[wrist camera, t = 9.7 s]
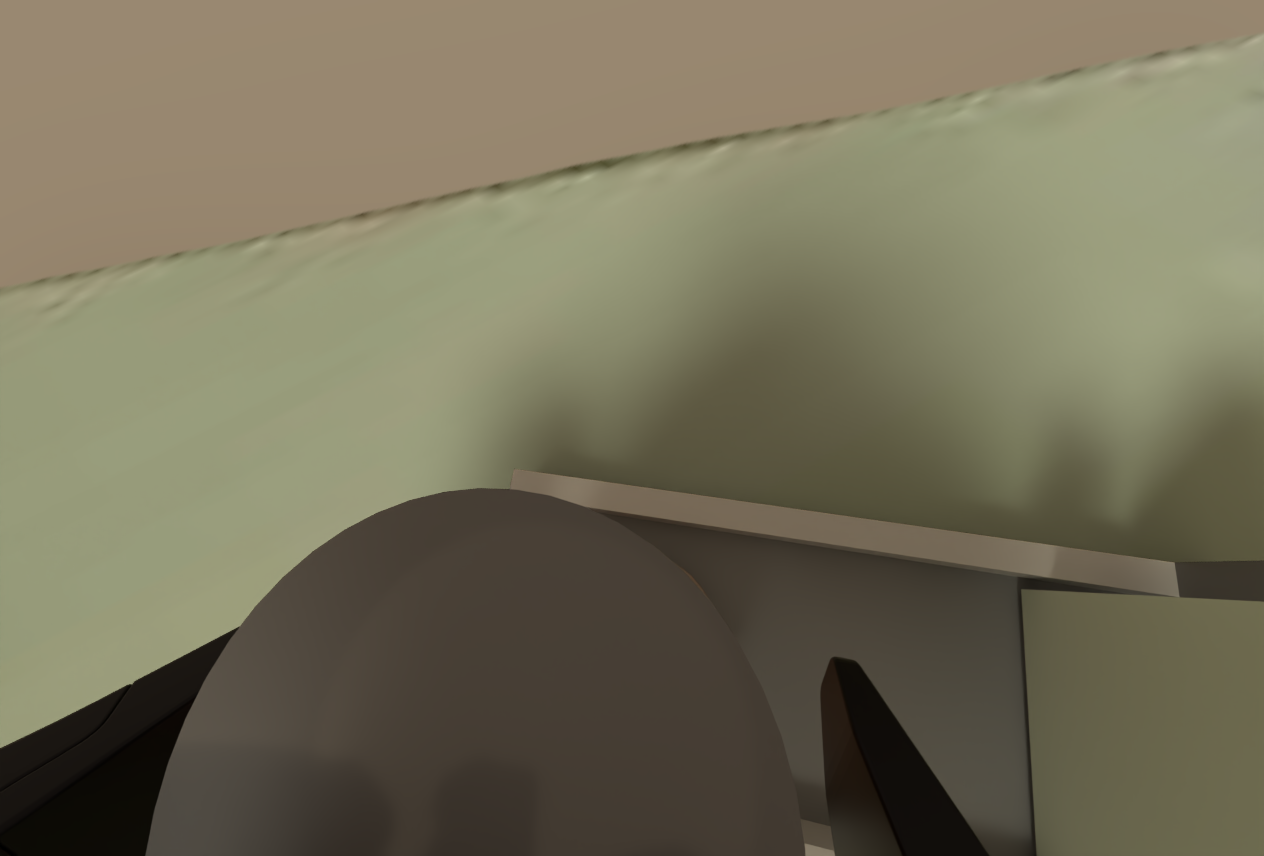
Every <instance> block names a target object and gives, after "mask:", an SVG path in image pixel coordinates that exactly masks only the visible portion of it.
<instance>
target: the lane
mask: <svg viewBox="0 0 1264 856" xmlns="http://www.w3.org/2000/svg"><path fill="white" fill-rule="evenodd" d="M510 489H515V490H521V491H527V492H533V493H538V494H544V495H550V496H553V497H556V498H559V499H562V500H565V501H569V502H572V503H575V504H578V505H581V506H584V507H586V508H588V509H591V510H593V511H595V512H597V513H599V514H601V515H603V516H605V517H607V518H609V519H611V520H614V521H616V522H618V523H619V524H621V525H623V526H624V527H626V528H627V529H629V530H630V531H632V532H633V533H635V534H636V535H638V536H639V537H641V538H642V539H644V540H645V541H647V542H648V543H650V544H651V545H653V546H655V547H656V548H658V549H659V550H660V551H661V552H662V553H664V554H665V555H666V556H667V557H668V558H669V559H671V560H672V561H673V562H675V563H676V564H678V565H679V566H681V567H682V568H684V569H685V570H686V571H687V572H688V573H689V574H690V575H692V576H693V577H694V579H695V580H696V581H697V582H698V583H699V584H700V585H701V587H702V588H703V590H704V591H705V592H706V594H707V595H708V597H709V599H710V601H711V602H712V603H713V605H714V606H715V608H716V609H717V611H718V612H719V613H720V615H721V616H722V618H723V619H724V621H725V622H726V624H727V625H728V626H729V628H730V629H731V631H732V632H733V634H734V636H735V637H736V639H737V641H738V642H739V644H740V646H741V648H742V650H743V652H744V654H745V655H746V657H747V659H748V661H749V663H750V665H751V667H752V669H753V670H754V672H755V674H756V676H757V678H758V680H759V682H760V684H761V686H762V688H763V690H764V693H765V695H766V698H767V700H768V703H769V705H770V708H771V710H772V713H773V716H774V718H775V721H776V723H777V726H778V728H779V731H780V733H781V736H782V739H783V743H784V747H785V751H786V754H787V758H788V762H789V765H790V769H791V773H792V777H793V780H794V784H795V788H796V792H797V799H798V805H799V812H800V818H801V825H802V831H803V838H804V844H805V856H835V853H834V846H833V840H832V833H831V827H830V821H829V814H828V807H827V800H826V791H825V777H824V759H823V740H822V721H821V703H820V690H821V684H822V681H823V678H824V675H825V672H826V669H827V666H828V664H829V661H830V659H831V658H832V657H834V656H837V657H842V658H848V659H853V660H855V661H857V662H858V663H859V664H860V666H861V667H862V668H863V670H864V671H865V673H866V674H867V676H868V677H869V679H870V680H871V682H872V683H873V684H874V686H875V687H876V689H877V690H878V692H879V693H880V695H881V696H882V698H883V699H884V701H885V702H886V704H887V705H888V707H889V708H890V709H891V711H892V712H893V714H894V715H895V717H896V718H897V720H898V721H899V723H900V724H901V726H902V727H903V729H904V730H905V731H906V733H907V734H908V736H909V737H910V739H911V740H912V742H913V743H914V745H915V746H916V748H917V749H918V751H919V752H920V753H921V755H922V756H923V758H924V759H925V761H926V762H927V764H928V765H929V767H930V768H931V770H932V771H933V773H934V774H935V775H936V777H937V778H938V780H939V781H940V783H941V784H942V786H943V787H944V789H945V790H946V792H947V793H948V795H949V796H950V797H951V799H952V800H953V802H954V803H955V805H956V806H957V808H958V809H959V811H960V812H961V814H962V815H963V817H964V818H965V819H966V821H967V822H968V824H969V825H970V827H971V828H972V830H973V831H974V833H975V834H976V836H977V837H978V839H979V840H980V841H981V843H982V844H983V846H984V847H985V849H986V850H987V852H988V853H989V855H990V856H1037V854H1036V836H1035V819H1034V802H1033V785H1032V767H1031V750H1030V733H1029V716H1028V698H1027V681H1026V664H1025V647H1024V629H1023V612H1022V595H1021V589H1028V590H1047V591H1066V592H1086V593H1105V594H1124V595H1144V596H1163V597H1182V598H1202V599H1221V600H1240V601H1260V602H1264V561H1223V562H1168V561H1161V560H1153V559H1146V558H1139V557H1132V556H1125V555H1118V554H1111V553H1104V552H1097V551H1090V550H1083V549H1076V548H1069V547H1062V546H1055V545H1048V544H1041V543H1034V542H1027V541H1020V540H1013V539H1005V538H998V537H991V536H984V535H977V534H970V533H963V532H956V531H949V530H942V529H935V528H928V527H921V526H914V525H907V524H900V523H893V522H886V521H879V520H872V519H865V518H857V517H850V516H843V515H836V514H829V513H822V512H815V511H808V510H801V509H794V508H787V507H780V506H773V505H766V504H759V503H752V502H745V501H738V500H731V499H724V498H716V497H709V496H702V495H695V494H688V493H681V492H674V491H667V490H660V489H653V488H646V487H639V486H632V485H625V484H618V483H611V482H604V481H597V480H590V479H583V478H576V477H568V476H561V475H554V474H547V473H540V472H533V471H526V470H519V469H514V472H513V476H512V481H511V485H510Z"/></svg>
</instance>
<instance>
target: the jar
mask: <svg viewBox="0 0 1264 856" xmlns="http://www.w3.org/2000/svg"><path fill="white" fill-rule="evenodd" d="M145 856H805V844H804V838H803V831H802V825H801V818H800V812H799V805H798V799H797V792H796V788H795V784H794V780H793V777H792V773H791V769H790V765H789V762H788V758H787V754H786V751H785V747H784V743H783V739H782V736H781V733H780V731H779V728H778V726H777V723H776V721H775V718H774V716H773V713H772V710H771V708H770V705H769V703H768V700H767V698H766V695H765V693H764V690H763V688H762V686H761V684H760V682H759V680H758V678H757V676H756V674H755V672H754V670H753V669H752V667H751V665H750V663H749V661H748V659H747V657H746V655H745V654H744V652H743V650H742V648H741V646H740V644H739V642H738V641H737V639H736V637H735V636H734V634H733V632H732V631H731V629H730V628H729V626H728V625H727V624H726V622H725V621H724V619H723V618H722V616H721V615H720V613H719V612H718V611H717V609H716V608H715V606H714V605H713V603H712V602H711V601H710V599H709V597H708V595H707V594H706V592H705V591H704V590H703V588H702V587H701V585H700V584H699V583H698V582H697V581H696V580H695V579H694V577H693V576H692V575H690V574H689V573H688V572H687V571H686V570H685V569H684V568H682V567H681V566H679V565H678V564H676V563H675V562H673V561H672V560H671V559H669V558H668V557H667V556H666V555H665V554H664V553H662V552H661V551H660V550H659V549H658V548H656V547H655V546H653V545H651V544H650V543H648V542H647V541H645V540H644V539H642V538H641V537H639V536H638V535H636V534H635V533H633V532H632V531H630V530H629V529H627V528H626V527H624V526H623V525H621V524H619V523H618V522H616V521H614V520H611V519H609V518H607V517H605V516H603V515H601V514H599V513H597V512H595V511H593V510H591V509H588V508H586V507H584V506H581V505H578V504H575V503H572V502H569V501H565V500H562V499H559V498H556V497H553V496H550V495H544V494H538V493H533V492H527V491H521V490H515V489H486V488H477V489H468V490H458V491H449V492H442V493H438V494H434V495H430V496H426V497H421V498H417V499H413V500H409V501H407V502H404V503H402V504H399V505H396V506H394V507H391V508H388V509H386V510H383V511H381V512H378V513H376V514H374V515H372V516H370V517H368V518H366V519H364V520H362V521H360V522H359V523H357V524H355V525H353V526H351V527H349V528H347V529H345V530H344V531H342V532H341V533H339V534H338V535H336V536H335V537H333V538H332V539H330V540H329V541H328V542H326V543H325V544H323V545H322V546H320V547H319V548H317V549H316V550H314V551H313V552H312V553H311V554H309V555H308V556H307V557H306V558H305V559H304V560H302V561H301V562H300V563H299V564H298V565H297V566H296V567H294V568H293V569H292V570H291V571H290V572H289V573H287V574H286V575H285V576H284V577H283V578H282V579H281V580H280V581H279V582H278V583H277V584H276V585H275V586H274V587H273V588H272V590H271V591H270V592H269V593H268V594H267V595H266V596H265V597H264V598H263V599H262V600H261V601H260V602H259V603H258V604H257V605H256V606H255V608H254V609H253V610H252V612H251V613H250V614H249V616H248V617H247V618H246V619H245V621H244V622H243V623H242V625H241V626H240V627H239V629H238V630H237V631H236V632H235V634H234V635H233V636H232V638H231V639H230V640H229V642H228V643H227V645H226V647H225V648H224V650H223V651H222V653H221V655H220V656H219V658H218V659H217V661H216V663H215V664H214V666H213V667H212V669H211V671H210V672H209V674H208V675H207V677H206V679H205V681H204V683H203V685H202V687H201V689H200V691H199V693H198V695H197V697H196V699H195V701H194V703H193V705H192V707H191V709H190V711H189V713H188V715H187V717H186V719H185V721H184V724H183V726H182V729H181V731H180V734H179V737H178V739H177V742H176V744H175V747H174V749H173V752H172V754H171V757H170V760H169V762H168V765H167V769H166V772H165V775H164V779H163V782H162V786H161V789H160V793H159V796H158V799H157V803H156V806H155V810H154V814H153V819H152V825H151V830H150V835H149V840H148V845H147V850H146V855H145Z"/></svg>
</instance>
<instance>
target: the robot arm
mask: <svg viewBox="0 0 1264 856" xmlns="http://www.w3.org/2000/svg"><path fill="white" fill-rule="evenodd" d="M238 629H239V627H238V628H236V629H234V630H232V631H230V632H228V633H226V634H224V635H222V636H220V637H218V638H217V639H215V640H213V641H211V642H209V643H207V644H205V645H203V646H201V647H199V648H197V649H196V650H194V651H192V652H190V653H188V654H186V655H184V656H182V657H180V658H178V659H176V660H174V661H173V662H171V663H169V664H167V665H165V666H163V667H161V668H159V669H157V670H155V671H153V672H151V673H150V674H148V675H146V676H144V677H142V678H140V679H138V680H136V681H135V682H134V683H133V684H129V685H126V686H124V687H123V688H121V689H119V690H117V691H115V692H113V693H111V694H109V695H107V696H105V697H103V698H102V699H100V700H98V701H96V702H94V703H92V704H90V705H88V706H86V707H84V708H82V709H80V710H78V711H76V712H74V713H72V714H70V715H68V716H66V717H64V718H62V719H60V720H58V721H56V722H54V723H52V724H50V725H48V726H46V727H44V728H42V729H40V730H37V731H35V732H33V733H31V734H29V735H27V736H25V737H23V738H21V739H19V740H17V741H15V742H13V743H10V744H8V745H6V746H4V747H2V748H0V856H145V855H146V850H147V845H148V840H149V835H150V830H151V825H152V819H153V814H154V810H155V806H156V803H157V799H158V796H159V793H160V789H161V786H162V782H163V779H164V775H165V772H166V769H167V765H168V762H169V760H170V757H171V754H172V752H173V749H174V747H175V744H176V742H177V739H178V737H179V734H180V731H181V729H182V726H183V724H184V721H185V719H186V717H187V715H188V713H189V711H190V709H191V707H192V705H193V703H194V701H195V699H196V697H197V695H198V693H199V691H200V689H201V687H202V685H203V683H204V681H205V679H206V677H207V675H208V674H209V672H210V671H211V669H212V667H213V666H214V664H215V663H216V661H217V659H218V658H219V656H220V655H221V653H222V651H223V650H224V648H225V647H226V645H227V643H228V642H229V640H230V639H231V638H232V636H233V635H234V634H235V632H236V631H237V630H238ZM820 703H821V721H822V740H823V759H824V777H825V791H826V800H827V807H828V814H829V821H830V827H831V833H832V840H833V846H834V853H835V856H990V855H989V853H988V852H987V850H986V849H985V847H984V846H983V844H982V843H981V841H980V840H979V839H978V837H977V836H976V834H975V833H974V831H973V830H972V828H971V827H970V825H969V824H968V822H967V821H966V819H965V818H964V817H963V815H962V814H961V812H960V811H959V809H958V808H957V806H956V805H955V803H954V802H953V800H952V799H951V797H950V796H949V795H948V793H947V792H946V790H945V789H944V787H943V786H942V784H941V783H940V781H939V780H938V778H937V777H936V775H935V774H934V773H933V771H932V770H931V768H930V767H929V765H928V764H927V762H926V761H925V759H924V758H923V756H922V755H921V753H920V752H919V751H918V749H917V748H916V746H915V745H914V743H913V742H912V740H911V739H910V737H909V736H908V734H907V733H906V731H905V730H904V729H903V727H902V726H901V724H900V723H899V721H898V720H897V718H896V717H895V715H894V714H893V712H892V711H891V709H890V708H889V707H888V705H887V704H886V702H885V701H884V699H883V698H882V696H881V695H880V693H879V692H878V690H877V689H876V687H875V686H874V684H873V683H872V682H871V680H870V679H869V677H868V676H867V674H866V673H865V671H864V670H863V668H862V667H861V666H860V664H859V663H858V662H857V661H855V660H853V659H848V658H842V657H837V656H834V657H832V658H831V659H830V661H829V664H828V666H827V669H826V672H825V675H824V678H823V681H822V684H821V690H820Z"/></svg>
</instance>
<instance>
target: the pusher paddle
mask: <svg viewBox="0 0 1264 856" xmlns="http://www.w3.org/2000/svg"><path fill="white" fill-rule="evenodd" d="M1021 595H1022V612H1023V629H1024V647H1025V664H1026V681H1027V698H1028V716H1029V733H1030V750H1031V767H1032V785H1033V802H1034V819H1035V836H1036V854H1037V856H1264V602H1260V601H1240V600H1221V599H1202V598H1182V597H1163V596H1144V595H1124V594H1105V593H1086V592H1066V591H1047V590H1028V589H1021Z"/></svg>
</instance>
